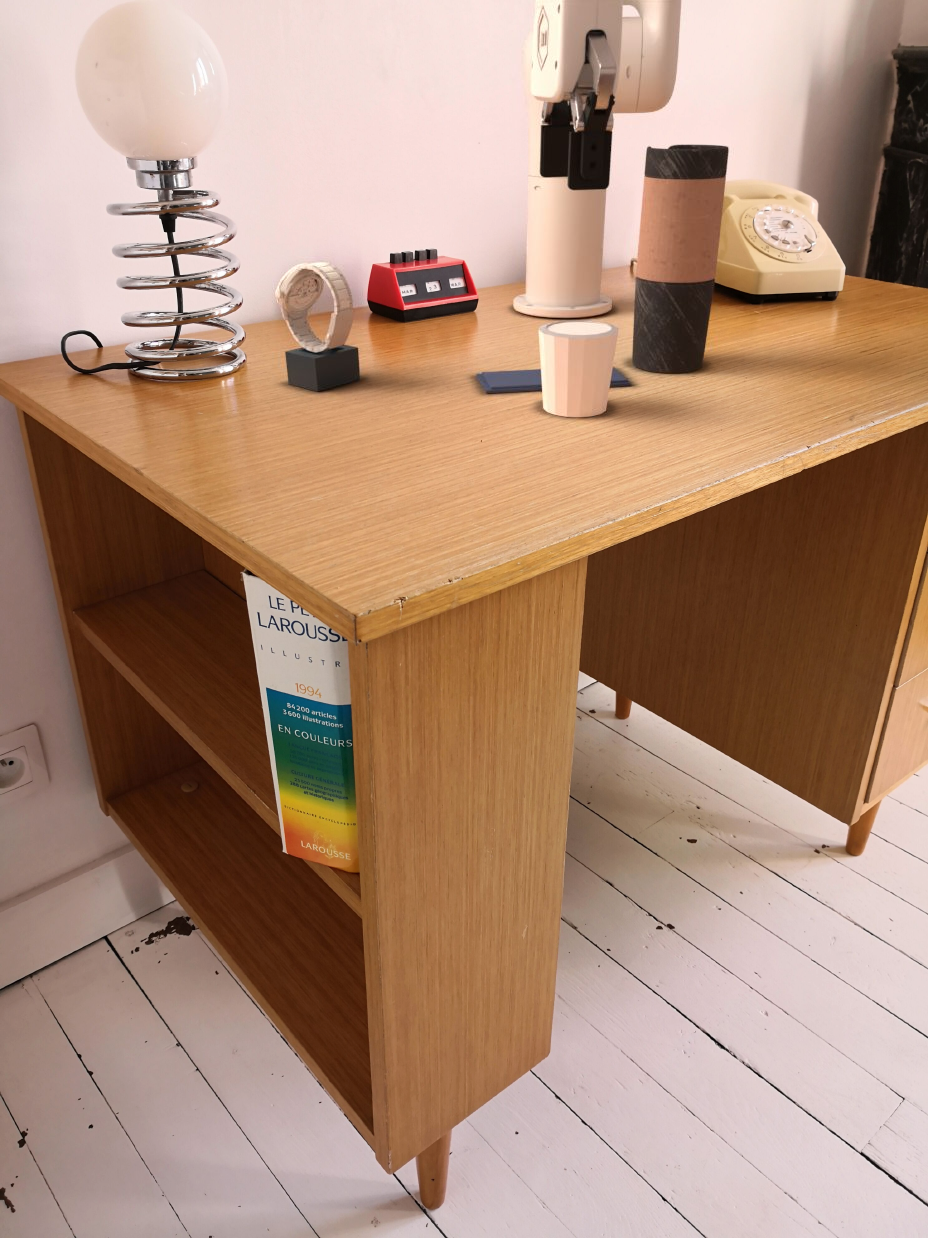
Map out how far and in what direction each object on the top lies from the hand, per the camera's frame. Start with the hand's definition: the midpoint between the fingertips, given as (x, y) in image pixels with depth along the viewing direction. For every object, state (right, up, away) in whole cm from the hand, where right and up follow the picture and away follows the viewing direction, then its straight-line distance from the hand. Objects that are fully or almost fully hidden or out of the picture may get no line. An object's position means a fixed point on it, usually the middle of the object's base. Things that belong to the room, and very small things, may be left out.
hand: (572, 182), depth 78 cm
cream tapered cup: (+1, -17, +7) cm, 19 cm away
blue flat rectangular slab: (0, -13, +14) cm, 19 cm away
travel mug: (+12, -10, +20) cm, 25 cm away
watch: (-23, -13, +15) cm, 30 cm away
